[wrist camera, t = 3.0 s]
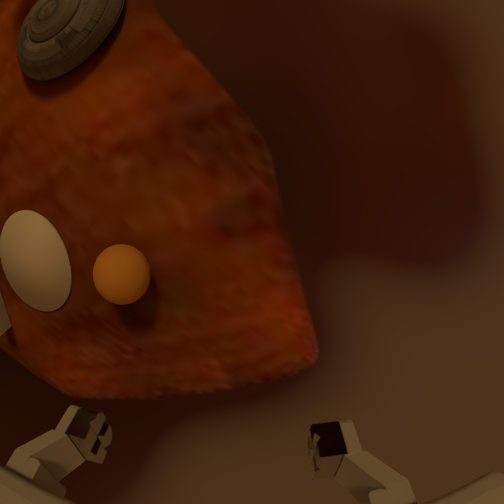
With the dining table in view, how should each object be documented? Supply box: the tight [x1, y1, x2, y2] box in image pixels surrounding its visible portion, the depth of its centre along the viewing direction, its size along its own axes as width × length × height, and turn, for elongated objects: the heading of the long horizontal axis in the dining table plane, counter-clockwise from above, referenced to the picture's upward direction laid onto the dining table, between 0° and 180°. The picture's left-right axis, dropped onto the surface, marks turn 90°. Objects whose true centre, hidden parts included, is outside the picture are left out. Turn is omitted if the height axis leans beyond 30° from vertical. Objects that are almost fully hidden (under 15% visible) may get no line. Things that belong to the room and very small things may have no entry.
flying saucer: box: [17, 0, 125, 81], centre depth 17 cm, size 15×15×6 cm
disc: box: [0, 210, 72, 312], centre depth 28 cm, size 13×13×1 cm
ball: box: [93, 244, 151, 305], centre depth 25 cm, size 6×6×6 cm
